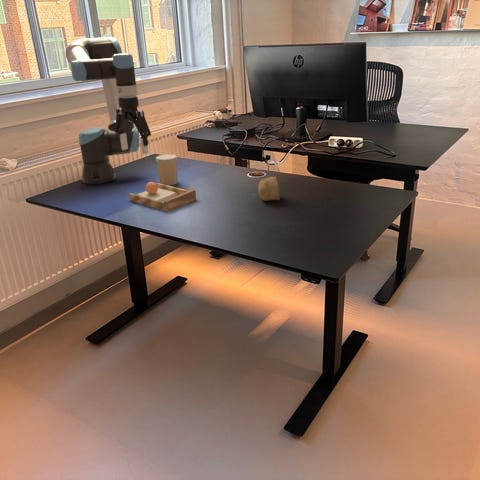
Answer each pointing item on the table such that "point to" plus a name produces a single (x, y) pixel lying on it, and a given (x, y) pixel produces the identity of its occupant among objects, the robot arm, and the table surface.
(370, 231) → the table surface
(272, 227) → the table surface
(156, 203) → the lane frame
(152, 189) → the ball
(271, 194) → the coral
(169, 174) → the coffee cup
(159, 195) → the mat
